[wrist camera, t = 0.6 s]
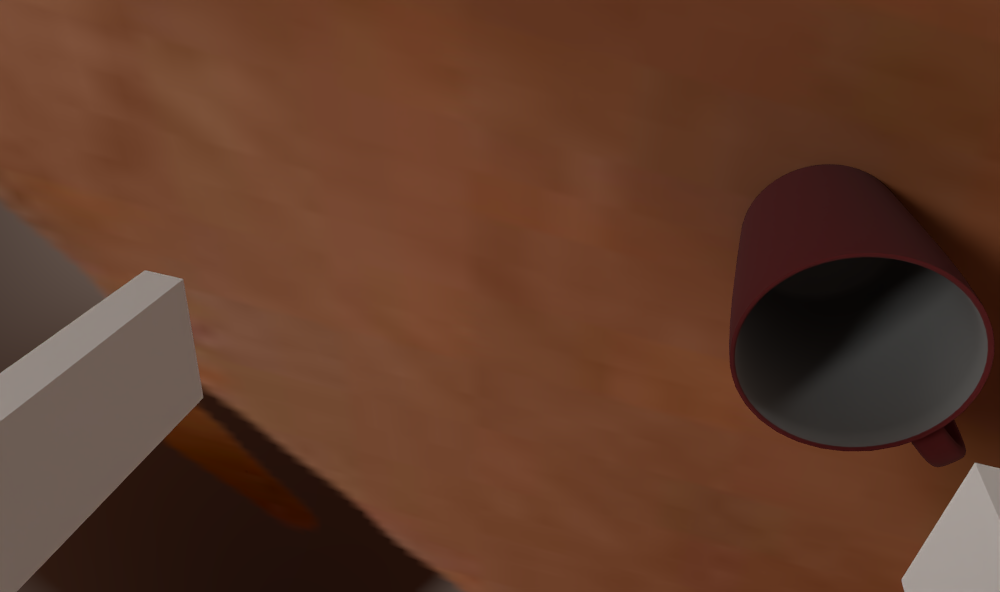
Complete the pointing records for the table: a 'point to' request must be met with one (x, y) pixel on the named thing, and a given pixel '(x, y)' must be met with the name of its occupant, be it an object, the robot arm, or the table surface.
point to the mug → (853, 319)
